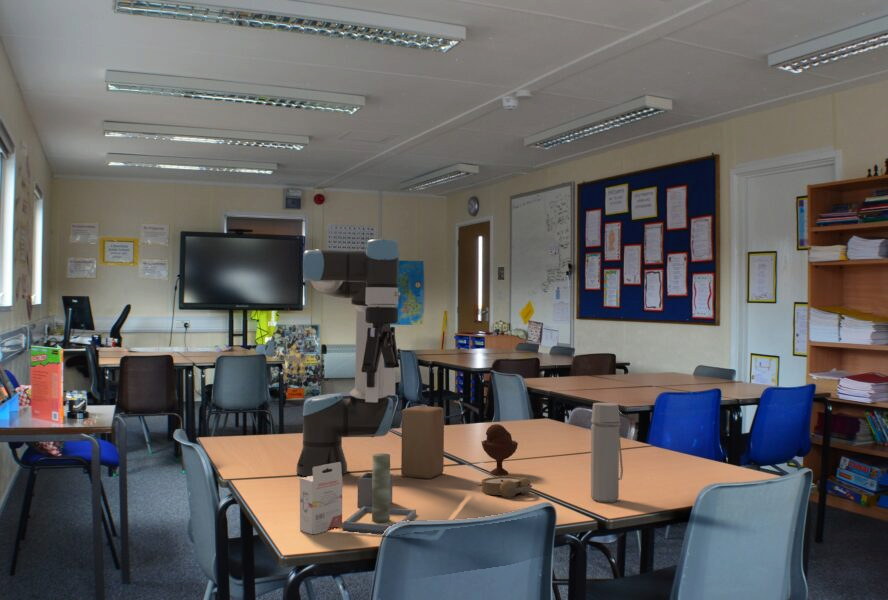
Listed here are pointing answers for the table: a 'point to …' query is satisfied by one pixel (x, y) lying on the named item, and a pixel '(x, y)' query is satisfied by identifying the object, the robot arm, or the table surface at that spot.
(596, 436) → the water bottle
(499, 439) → the ice cream bowl
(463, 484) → the table surface
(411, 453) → the wooden block
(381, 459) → the dowel
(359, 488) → the pot
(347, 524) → the tray
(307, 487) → the ink cartridge box
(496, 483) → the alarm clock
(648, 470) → the table surface
